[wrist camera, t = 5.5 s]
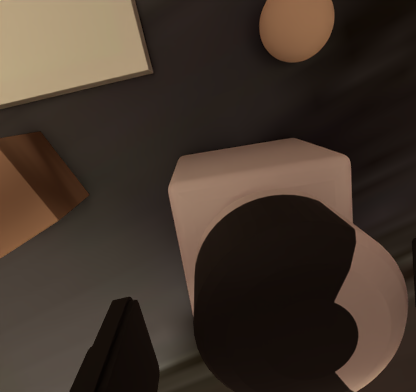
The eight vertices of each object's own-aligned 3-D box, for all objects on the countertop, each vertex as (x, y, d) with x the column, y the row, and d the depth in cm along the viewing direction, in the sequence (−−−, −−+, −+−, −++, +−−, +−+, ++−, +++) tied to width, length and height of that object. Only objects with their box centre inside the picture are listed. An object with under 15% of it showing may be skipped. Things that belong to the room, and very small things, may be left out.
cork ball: (248, 3, 17) (261, -23, 13) (314, -13, 16) (343, -43, 13) (259, 72, 18) (274, 65, 14) (321, 58, 17) (351, 47, 14)
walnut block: (-19, 172, 19) (-84, 192, 14) (40, 131, 18) (-9, 139, 14) (32, 231, 20) (-14, 267, 16) (89, 194, 19) (58, 220, 15)
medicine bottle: (197, 262, 21) (196, 460, 9) (177, 155, 19) (144, 236, 7) (305, 245, 21) (442, 424, 9) (296, 136, 19) (457, 186, 7)
